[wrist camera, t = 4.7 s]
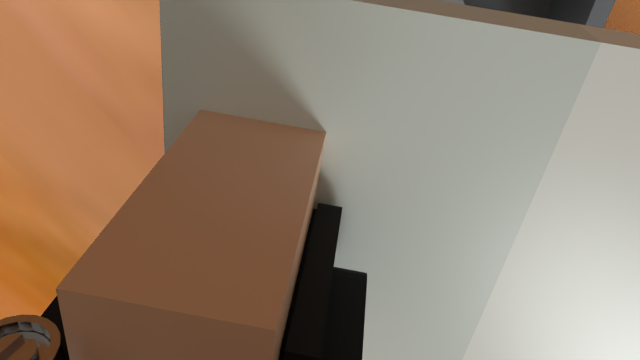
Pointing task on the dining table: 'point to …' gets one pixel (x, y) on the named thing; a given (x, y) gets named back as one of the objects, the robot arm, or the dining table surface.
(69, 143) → the dining table surface
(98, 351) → the lid
